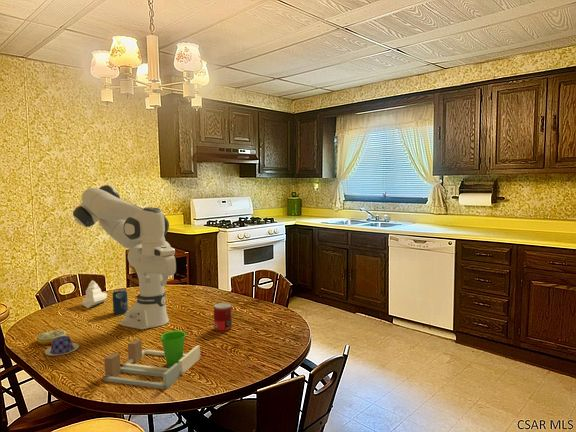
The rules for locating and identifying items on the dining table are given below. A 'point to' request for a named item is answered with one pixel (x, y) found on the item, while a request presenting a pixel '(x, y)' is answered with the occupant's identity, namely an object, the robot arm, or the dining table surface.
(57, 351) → the checkered hat
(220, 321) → the canned food
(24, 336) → the dining table surface
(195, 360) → the frame
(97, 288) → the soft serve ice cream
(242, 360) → the dining table surface
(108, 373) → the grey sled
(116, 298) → the soda can
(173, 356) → the cup
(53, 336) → the decorated donut
